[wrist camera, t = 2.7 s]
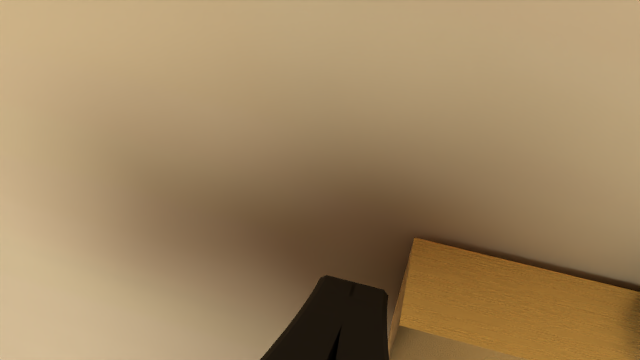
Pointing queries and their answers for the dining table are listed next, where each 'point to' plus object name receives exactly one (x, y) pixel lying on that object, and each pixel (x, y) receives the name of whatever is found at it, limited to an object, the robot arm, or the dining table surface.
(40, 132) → the dining table surface
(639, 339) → the bar
